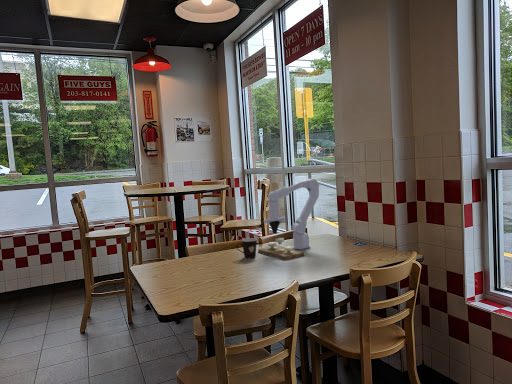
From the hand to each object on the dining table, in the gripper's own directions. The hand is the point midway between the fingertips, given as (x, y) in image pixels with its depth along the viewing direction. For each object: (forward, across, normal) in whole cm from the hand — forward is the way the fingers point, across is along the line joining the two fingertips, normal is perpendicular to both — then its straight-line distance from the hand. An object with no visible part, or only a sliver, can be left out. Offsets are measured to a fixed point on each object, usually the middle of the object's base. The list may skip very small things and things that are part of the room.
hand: (274, 233), depth 234 cm
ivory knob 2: (+8, +4, +18) cm, 20 cm away
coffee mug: (+11, +22, +2) cm, 24 cm away
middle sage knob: (+4, +4, +10) cm, 12 cm away
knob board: (+10, +4, +10) cm, 15 cm away
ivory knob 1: (+8, +4, +2) cm, 9 cm away
